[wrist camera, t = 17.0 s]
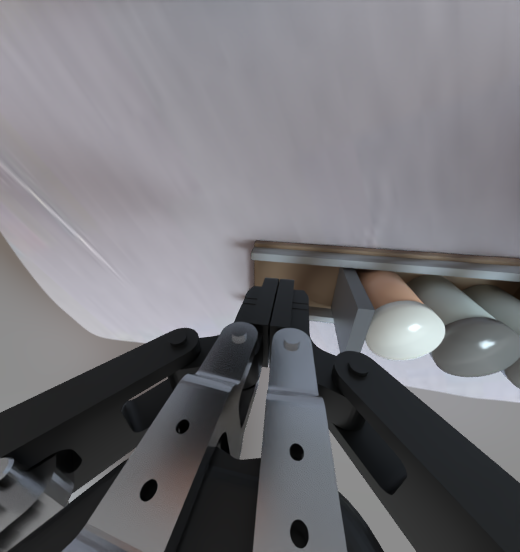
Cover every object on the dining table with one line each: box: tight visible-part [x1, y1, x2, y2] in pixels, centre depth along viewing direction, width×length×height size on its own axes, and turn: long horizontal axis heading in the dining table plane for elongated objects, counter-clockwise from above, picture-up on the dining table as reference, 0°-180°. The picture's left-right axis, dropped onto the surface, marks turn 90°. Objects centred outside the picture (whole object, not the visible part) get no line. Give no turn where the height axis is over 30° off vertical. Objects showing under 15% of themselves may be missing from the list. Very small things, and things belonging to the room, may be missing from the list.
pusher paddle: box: [331, 267, 375, 353], centre depth 21 cm, size 1×6×8 cm, turn 179°
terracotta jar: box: [356, 269, 445, 361], centre depth 20 cm, size 6×6×8 cm
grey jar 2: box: [462, 285, 520, 388], centre depth 19 cm, size 6×6×8 cm
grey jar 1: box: [406, 275, 520, 377], centre depth 19 cm, size 6×6×8 cm
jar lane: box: [251, 241, 520, 324], centre depth 22 cm, size 28×9×6 cm, turn 89°
